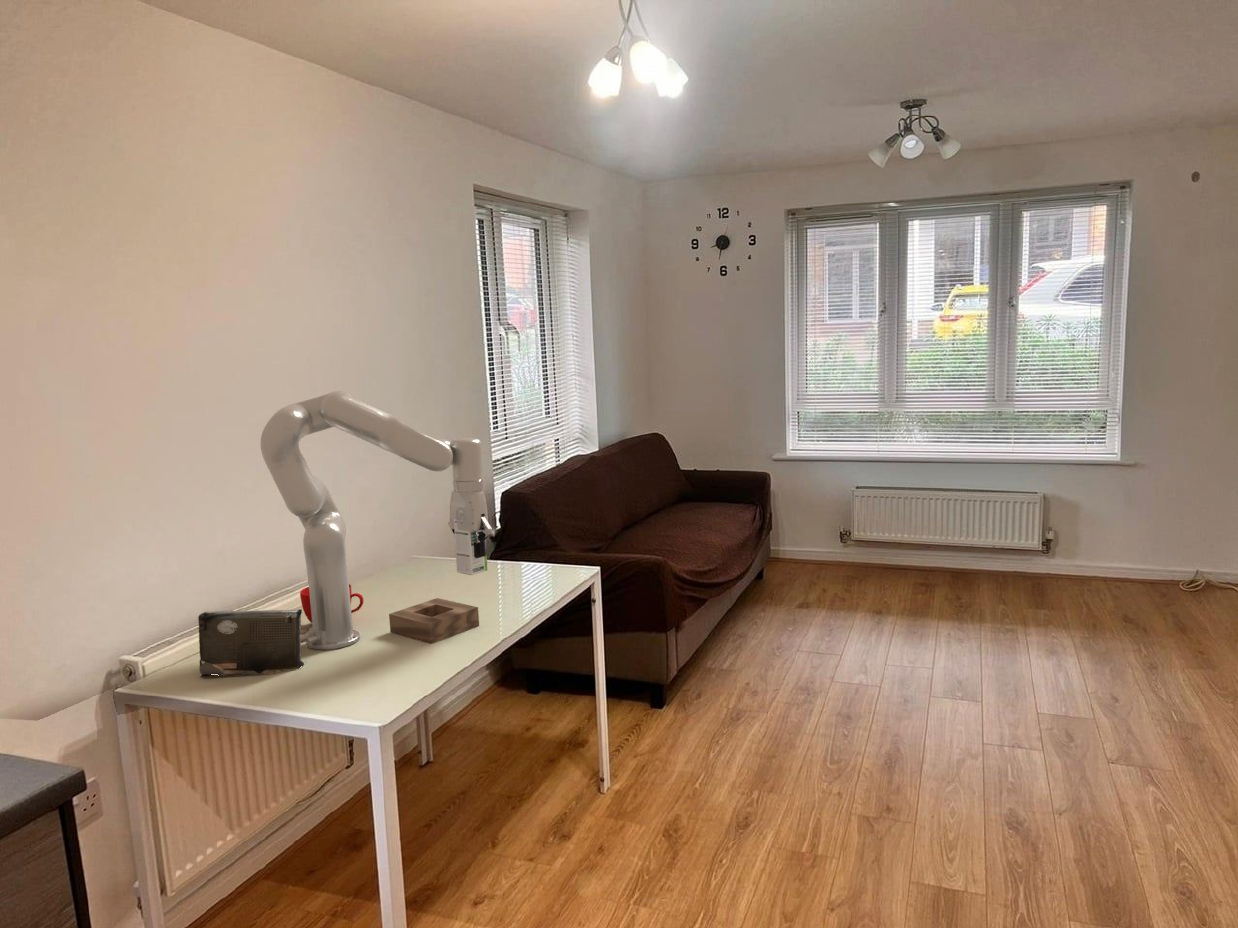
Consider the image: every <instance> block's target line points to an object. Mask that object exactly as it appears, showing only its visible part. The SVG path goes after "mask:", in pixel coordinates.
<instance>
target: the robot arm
mask: <svg viewBox="0 0 1238 928" xmlns="http://www.w3.org/2000/svg"><path fill="white" fill-rule="evenodd" d="M331 428H335V429H338V430H340V431H341V432H342V431H343V432H345V433H347V434H350V435H351V436H354V437H356V438H358V439H361V440H363V441H365V442H367V443H370V444H372V445H374V446H376V447H378V448H380V449H382V450H385V451H386V452H389V453H391V454H394V455H397V456H398V457H400V458H401V459H404V460H406V461H408V462H411V463H412V464H415V465H417V466H420V467H422V468H425V469H427V470H429V471H431V472H443V471H446V470H447V469H448V468H450V466H452V478H453V479H452V485H453V491H451V494H450V502H449V521H448V523H447V524H448V526H449V528H450V529H451V531H452V533H453V535H454V536H453V537H454V538H455V531H454V519H455V520H457V527H458V530H463V531H469V532H472V533H474V538H475V541H476V543H474V557H475V558H480V557H483V556H485V541H486V542H487V538H488V537H489V536H490V534H491V533H493V528H492V526H491V525H490V523H489V517H488V505H487V498H486V494H485V492H484V477H483V475H484V473H483V450H482V449H483V447H482V441H481V440H480V439H479V438H476V437H461V438H455V439H453V438H451V439H450V438H443V437H442V438H441V437H434V438H433V437H431V436H429V435H426V434H424V433H422V432H420V431H418V430H415V429H414V428H412V427H410V426H409V425H408V424H406V423H404V422H403V421H402V420H400V419H399V418H397V417H396V416H394V415H393V414H391V413H388V411H387V412H386V411H384V410H381V409H380V408H377V407H375V406H373V405H370V404H368V403H365V402H364V401H362V400H360V399H357V398H356V397H353V396H352V395H351V394H350V393H349V392H346V391H344V390H336V391H332V392H329V393H325V394H323V395H320V396H316V397H313V398H309V399H306V400H303V401H299V402H296V403H295V402H294V403H292V404H289V405H286V406H284V407H282V408H280V409H279V410H277V411H276V412H275V413H274V414H273V415H272V416H271V417H270V419H268V421H267V423H266V424H265V426H264V427H263V430H262V432H261V436H260V451H261V455H262V458H263V461H264V463H265V465H266V467H267V469H268V470H269V473H270V475H271V477H272V480H273V481H274V484H275V485H276V487H277V489H278V491H279V493H280V495H281V497H282V499H283V501H284V503H285V505H286V506H285V507H286V508H287V509H288V510H289V512H290V513H291V514H293V515H294V516H296V517H298V519H299V521H300V522H301V524H302V526H303V528H304V535H303V540H302V541H303V542H302V543H303V545H302V546H303V552H304V558H305V559H304V560H305V565H306V567H305V568H306V572H307V573H306V574H307V583H308V587H309V594H310V605H311V615H312V623H311V624H312V626H310V627H308V631H307V632H306V633H304V634H301V636H300V637H301V644H303V643H305V642H306V644H307V646H308V647H309V648H311V649H313V650H321V651H322V650H326V651H328V650H335V649H340V648H345V647H347V646H350V645H353V644H355V643H357V642H358V641H359V640H360V638H361V634H360V632H359V631H358V630H356V629H354V626H353V617H352V616H353V615H352V614H353V613H351V610H352V601H351V602H350V591H349V584H350V583H349V571H348V570H349V569H348V562H347V561H348V560H347V551H346V535H347V533H346V532H347V527H346V526H347V525H346V523H345V521H344V519H343V516H342V515H341V512H340V511H339V508H338V507H337V505H336V503H335V501H334V499H333V497H332V495H331V493H330V491H329V489H328V487H327V486H326V484H325V483H324V481H323V480H322V479H320V478H319V477H318V476H317V475H313V473H312V471H311V470H310V467H309V465H308V463H307V461H306V459H305V457H304V455H303V454H302V452H301V450H300V447H299V446H300V445H299V444H300V442H301V440H302V439H303V438H305V436H309V435H311V434H314V433H318V432H323V431H325V430H329V429H331ZM458 520H459V521H460V520H463V521H464V522H463V521H460V522H461V523H460V522H459V521H458ZM462 522H463V523H462ZM479 528H480V530H479ZM479 532H480V536H479V535H478V533H479Z"/></svg>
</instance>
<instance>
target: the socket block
mask: <svg viewBox="0 0 1238 928" xmlns="http://www.w3.org/2000/svg"><path fill="white" fill-rule="evenodd" d="M388 619H389V630H390V631H389V632H390V633H391V634H394V635H397V636H401V637H405V638H408V639H412V640H415V641H419V642H421V643H422V642H424V643H426V644H430V645H433V644H435V643H437V642H441V641H443V640H446V639H448V638H452V637H454V636H457V635H458V634H461V633H464V632H466V631H467V632H468V631H469V630H471V629H474V628H477V627H479V626H480V616H479V607H478V606H475V605H470V604H466V603H463V602H462V603H461V602H456V601H453V600H448V599H443V598H440V597H436V598H433V599H430V600H427V601H423V602H422V603H421V602H420V603H418V604H415V605H412V606H409V607H406V608H403V609H400V610H397V611H395V612H391V613H389V614H388Z"/></svg>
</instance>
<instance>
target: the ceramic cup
mask: <svg viewBox="0 0 1238 928" xmlns="http://www.w3.org/2000/svg"><path fill="white" fill-rule="evenodd" d="M349 591H350V602H351V603H352V598H353V597H357V598H358V599H359V604H358V605H357V607H356V608H353V609H351V614H353V613H355V612H358V611H359V610H360V609H361V608H362V606H363V604H364V597H363V596H362V594H360V593H357V592H354V593H352V584H351V583H349ZM299 594H300V595H299V597H300V602H301V607H302V610H303V613H304V615H305V617H306V619H307V620H308V621H309V623H311V624H312V615H311V605H310V594H309V586H306V587H304V588H302V589H301V590H300V593H299Z"/></svg>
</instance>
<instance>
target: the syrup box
mask: <svg viewBox="0 0 1238 928" xmlns="http://www.w3.org/2000/svg"><path fill="white" fill-rule="evenodd" d="M458 521H459V520H458ZM460 521H463V520H460ZM460 521H459V522H460ZM463 522H464V521H463ZM463 522H462V523H463ZM460 523H461V522H460ZM479 530H480V528H479ZM454 531H455V535H454V536H455V537H454V545H455V560H456V561H455V564H456V565H455V566H456V573H459V574H463V575H467V576H473V575H476V574H480V573H484V572H487V571H488V558H487V555H488V554H487V540H486V541H485V556H483V557H480V558H475V557H474V543H476V541H475V538H474V533H472V532H469V531H463V530H458V527H457V520H455V519H454ZM478 535H479V536H480V532H479V533H478Z"/></svg>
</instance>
